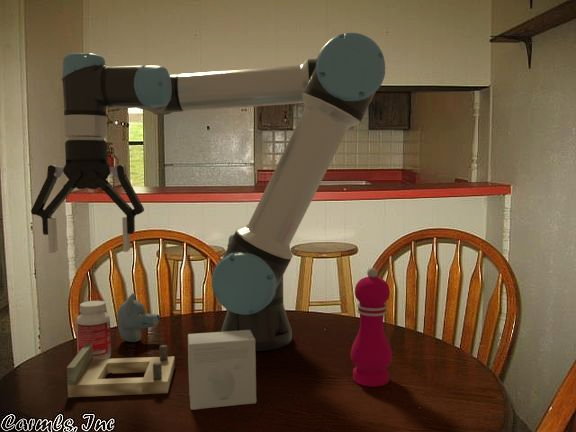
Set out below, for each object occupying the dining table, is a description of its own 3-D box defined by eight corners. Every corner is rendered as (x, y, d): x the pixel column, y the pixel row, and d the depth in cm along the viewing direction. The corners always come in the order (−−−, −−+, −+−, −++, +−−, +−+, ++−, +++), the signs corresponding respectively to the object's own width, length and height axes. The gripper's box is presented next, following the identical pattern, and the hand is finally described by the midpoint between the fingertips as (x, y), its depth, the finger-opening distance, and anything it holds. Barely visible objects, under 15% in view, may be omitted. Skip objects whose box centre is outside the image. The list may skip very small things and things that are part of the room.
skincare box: (250, 388, 95) (250, 327, 94) (256, 404, 88) (256, 339, 87) (188, 393, 92) (187, 332, 91) (190, 410, 86) (188, 344, 85)
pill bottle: (114, 360, 108) (113, 304, 107) (82, 366, 104) (79, 309, 103) (106, 351, 113) (104, 297, 112) (74, 357, 109) (72, 302, 108)
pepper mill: (394, 375, 100) (396, 265, 98) (388, 390, 93) (390, 273, 92) (355, 370, 103) (356, 263, 101) (346, 385, 96) (347, 270, 94)
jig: (174, 366, 104) (174, 340, 104) (167, 393, 92) (167, 363, 92) (86, 370, 103) (85, 343, 102) (68, 397, 91) (66, 367, 90)
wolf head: (159, 344, 117) (158, 298, 116) (115, 347, 115) (114, 299, 115) (161, 335, 123) (160, 291, 122) (120, 337, 122) (118, 292, 121)
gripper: (156, 140, 109) (158, 247, 111) (24, 139, 107) (29, 249, 109) (151, 139, 102) (154, 253, 104) (8, 138, 99) (14, 255, 101)
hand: (90, 251), depth 106 cm, fingers open, 13 cm apart
